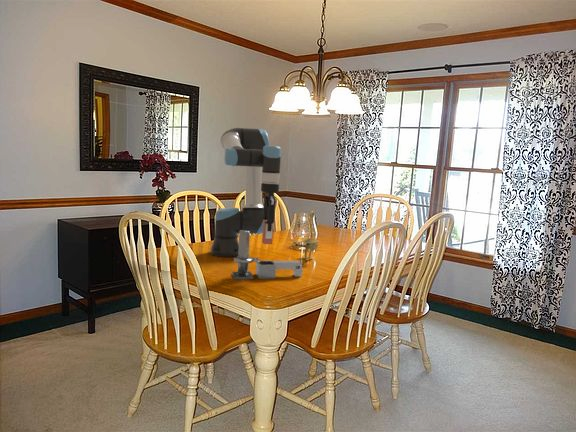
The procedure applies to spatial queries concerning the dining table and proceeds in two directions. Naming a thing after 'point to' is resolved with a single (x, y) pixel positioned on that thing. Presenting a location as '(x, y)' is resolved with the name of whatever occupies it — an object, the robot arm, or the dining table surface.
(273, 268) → the bracket
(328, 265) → the dining table surface
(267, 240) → the wedge pin
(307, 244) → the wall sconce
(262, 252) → the dining table surface
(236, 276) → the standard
